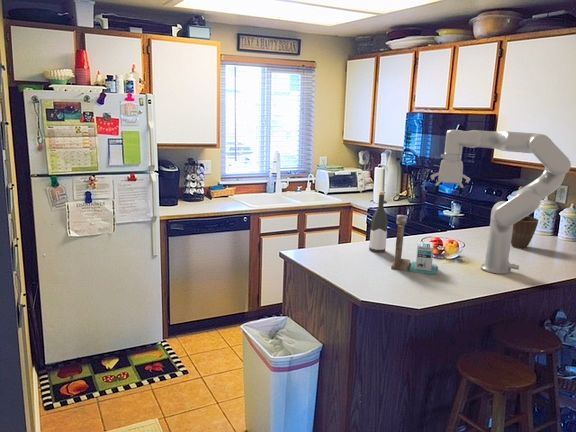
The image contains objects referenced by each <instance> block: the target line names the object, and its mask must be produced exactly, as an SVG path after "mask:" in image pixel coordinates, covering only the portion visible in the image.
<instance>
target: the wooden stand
mask: <svg viewBox="0 0 576 432" xmlns="http://www.w3.org/2000/svg"><path fill="white" fill-rule="evenodd" d="M407 219H408V216H407V215H406V214H405V215H404V214H397V215H396V223H395V224H396V225H397V229H396V237H395V238H396V241H395V249H394V251H395V252H394V253H395V254H394V259H393V262H392V263H391V267H390V268H391V269H393V270H398V271H405V272H407V271H409V270H408V269H409V266H410V265H411V259H407V258H402V255H403V254H402V253H403V246H404V245H403V244H404V233H405V232H404V231H405V226H406V225H407V223H408V221H407Z"/></svg>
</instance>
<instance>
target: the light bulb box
mask: <svg viewBox="0 0 576 432" xmlns="http://www.w3.org/2000/svg"><path fill="white" fill-rule="evenodd" d="M416 250H417V251H416V261H415V262H416V269H418V270H426V271H431V268H432V264H433V257H434V242H432V241H425V240H424V241H422V240H418V241H417V249H416Z"/></svg>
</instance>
